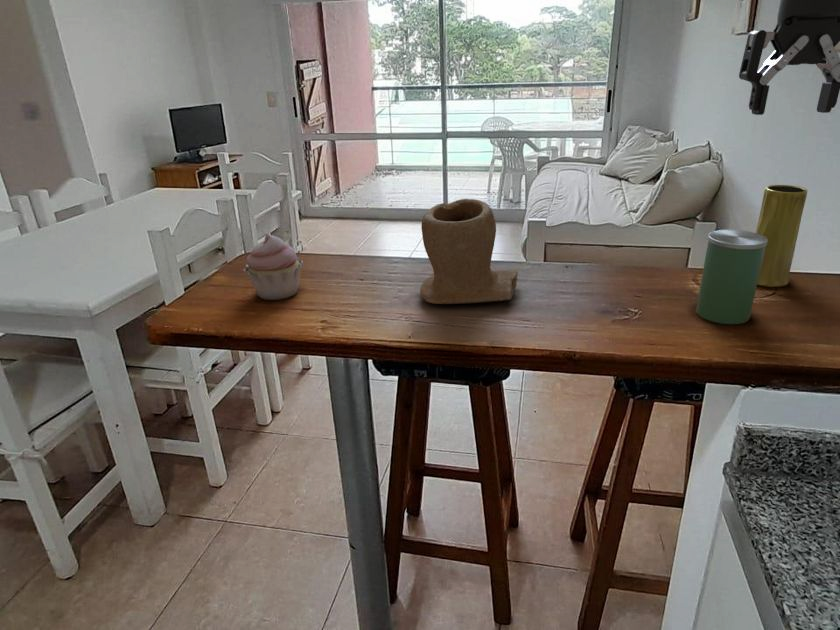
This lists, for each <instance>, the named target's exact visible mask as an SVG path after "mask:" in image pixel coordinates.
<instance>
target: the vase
mask: <svg viewBox="0 0 840 630" xmlns="http://www.w3.org/2000/svg"><path fill="white" fill-rule="evenodd" d="M807 196H808V189H807V188H806V187H802V186H798V185H790V184H770V185H768V186H765V188H764V191H763V196H762V202H761V207H760V211H759V215H758V221H757V224H756V225H757V226H756V231H755V233H757V234H760V235H763V236H765V237H766V238H767V240H768V241H767V245H766V246H765V251H764V255H763V260H762V265H761V269H760V274H759V278H758V283H757V286H760V287H765V288H782V287H785V286H787V285H788V284H789V283H790V280H789V279H790V272H791V268H792V264H793V259H794V255H795V252H796V251H795V250H796V245H797V241H798V236H799V231H800V226H801V221H802V217H803V212H804V208H805V205H806V200H807Z"/></svg>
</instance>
